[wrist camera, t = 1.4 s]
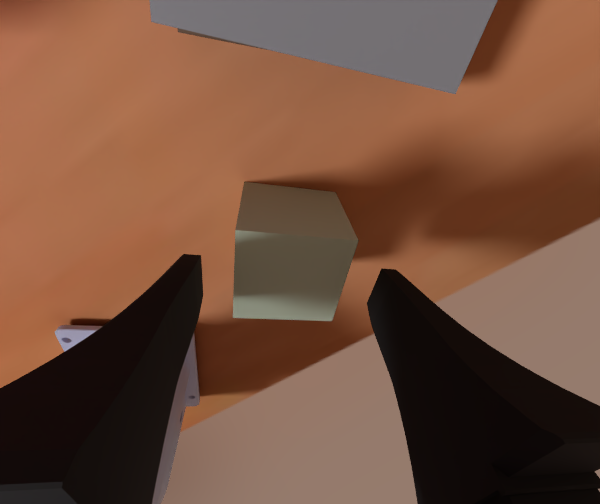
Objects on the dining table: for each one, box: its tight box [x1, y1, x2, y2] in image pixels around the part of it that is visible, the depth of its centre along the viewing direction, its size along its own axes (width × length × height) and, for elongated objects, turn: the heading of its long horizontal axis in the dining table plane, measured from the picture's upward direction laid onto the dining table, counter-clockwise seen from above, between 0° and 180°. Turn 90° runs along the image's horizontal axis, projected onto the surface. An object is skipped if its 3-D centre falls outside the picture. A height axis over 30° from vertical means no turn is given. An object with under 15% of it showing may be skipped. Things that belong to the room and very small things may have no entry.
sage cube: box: [233, 182, 359, 321], centre depth 13 cm, size 4×4×4 cm
